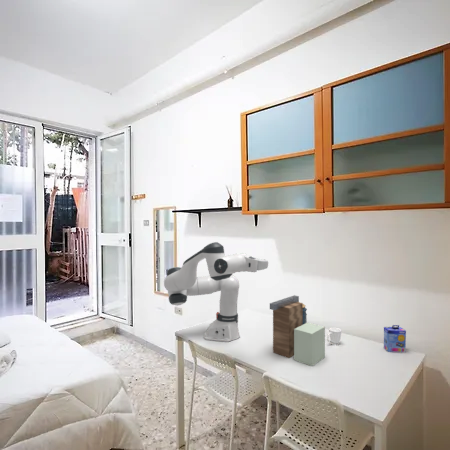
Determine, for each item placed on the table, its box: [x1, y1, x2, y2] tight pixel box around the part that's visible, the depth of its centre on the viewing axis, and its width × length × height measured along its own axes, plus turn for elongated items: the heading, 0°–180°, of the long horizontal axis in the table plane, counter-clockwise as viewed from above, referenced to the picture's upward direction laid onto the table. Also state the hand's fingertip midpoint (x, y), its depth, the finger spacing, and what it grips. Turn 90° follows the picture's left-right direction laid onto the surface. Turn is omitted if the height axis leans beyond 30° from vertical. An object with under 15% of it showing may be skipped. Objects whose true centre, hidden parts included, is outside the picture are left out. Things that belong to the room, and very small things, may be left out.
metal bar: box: [269, 294, 300, 311], centre depth 163 cm, size 24×3×3 cm, turn 136°
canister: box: [299, 302, 308, 324], centre depth 206 cm, size 13×13×18 cm
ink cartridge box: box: [383, 324, 407, 353], centre depth 166 cm, size 10×6×14 cm, turn 87°
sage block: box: [293, 322, 326, 367], centre depth 156 cm, size 14×10×16 cm
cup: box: [326, 327, 343, 346], centre depth 175 cm, size 7×10×8 cm
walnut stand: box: [272, 302, 304, 359], centre depth 165 cm, size 14×10×26 cm
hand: (257, 259), depth 158 cm, fingers open, 8 cm apart
